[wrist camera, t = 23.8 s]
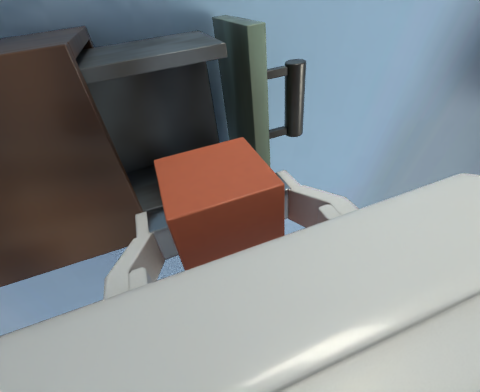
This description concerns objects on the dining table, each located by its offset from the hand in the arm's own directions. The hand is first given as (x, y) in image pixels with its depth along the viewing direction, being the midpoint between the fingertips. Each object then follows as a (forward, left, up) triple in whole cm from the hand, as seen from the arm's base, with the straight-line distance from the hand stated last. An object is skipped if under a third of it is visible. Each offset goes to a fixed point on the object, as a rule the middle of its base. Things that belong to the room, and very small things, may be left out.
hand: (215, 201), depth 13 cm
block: (0, 0, -2) cm, 2 cm away
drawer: (-1, +1, -15) cm, 15 cm away
